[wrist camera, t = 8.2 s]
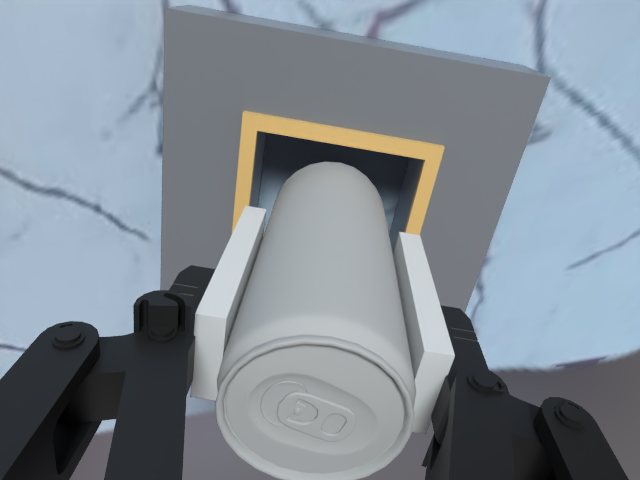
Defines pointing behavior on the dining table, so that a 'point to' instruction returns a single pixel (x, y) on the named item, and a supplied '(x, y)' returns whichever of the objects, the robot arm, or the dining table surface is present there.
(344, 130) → the socket plate
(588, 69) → the dining table surface
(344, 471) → the beverage can
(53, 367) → the robot arm
